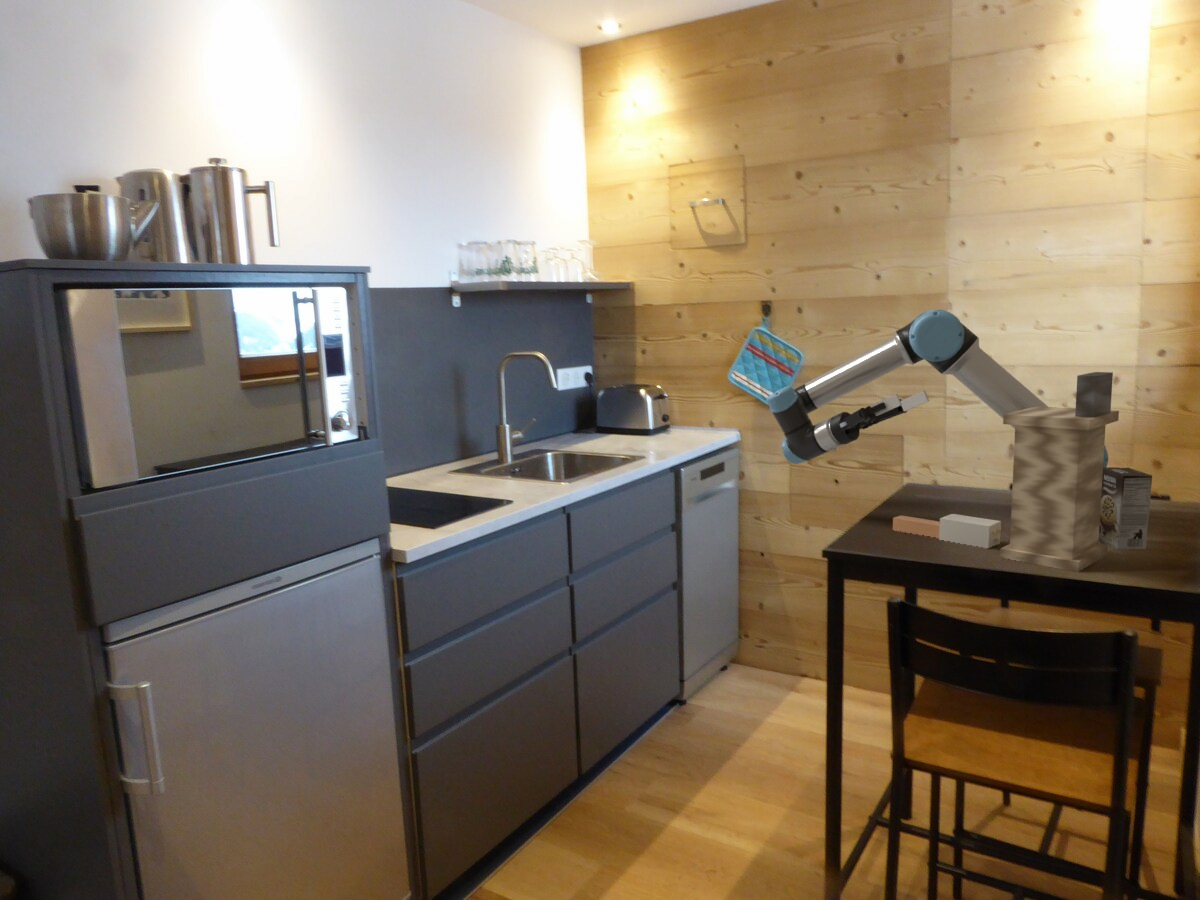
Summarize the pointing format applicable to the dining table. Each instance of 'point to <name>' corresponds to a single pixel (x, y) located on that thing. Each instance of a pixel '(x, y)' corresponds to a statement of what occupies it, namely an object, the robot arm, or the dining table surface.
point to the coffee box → (1125, 508)
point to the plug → (953, 529)
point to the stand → (1060, 478)
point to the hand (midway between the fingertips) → (913, 397)
